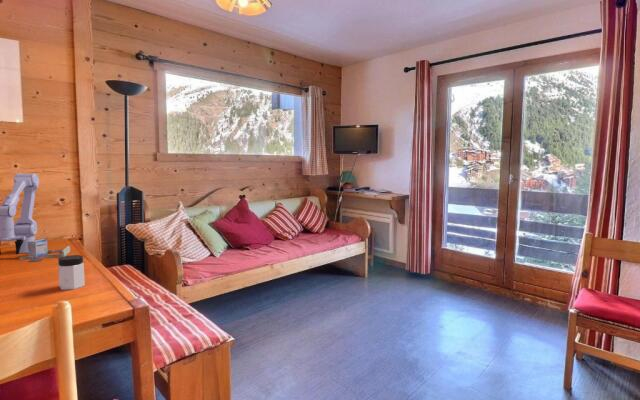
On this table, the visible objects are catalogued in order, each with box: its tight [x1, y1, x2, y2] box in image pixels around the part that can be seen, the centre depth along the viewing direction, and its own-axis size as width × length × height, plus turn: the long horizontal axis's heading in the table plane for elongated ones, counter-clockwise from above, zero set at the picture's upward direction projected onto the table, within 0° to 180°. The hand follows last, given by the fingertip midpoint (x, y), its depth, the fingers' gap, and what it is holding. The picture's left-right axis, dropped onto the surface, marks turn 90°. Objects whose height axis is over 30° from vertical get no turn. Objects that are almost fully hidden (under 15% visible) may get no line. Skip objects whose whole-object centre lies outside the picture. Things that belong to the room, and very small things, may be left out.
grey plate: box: [27, 248, 63, 263], centre depth 196 cm, size 28×7×1 cm, turn 8°
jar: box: [57, 254, 86, 291], centre depth 145 cm, size 9×8×12 cm
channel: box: [19, 245, 71, 261], centre depth 196 cm, size 14×19×3 cm
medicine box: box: [27, 238, 49, 259], centre depth 194 cm, size 8×4×9 cm, turn 179°
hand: (8, 254), depth 189 cm, fingers open, 7 cm apart
